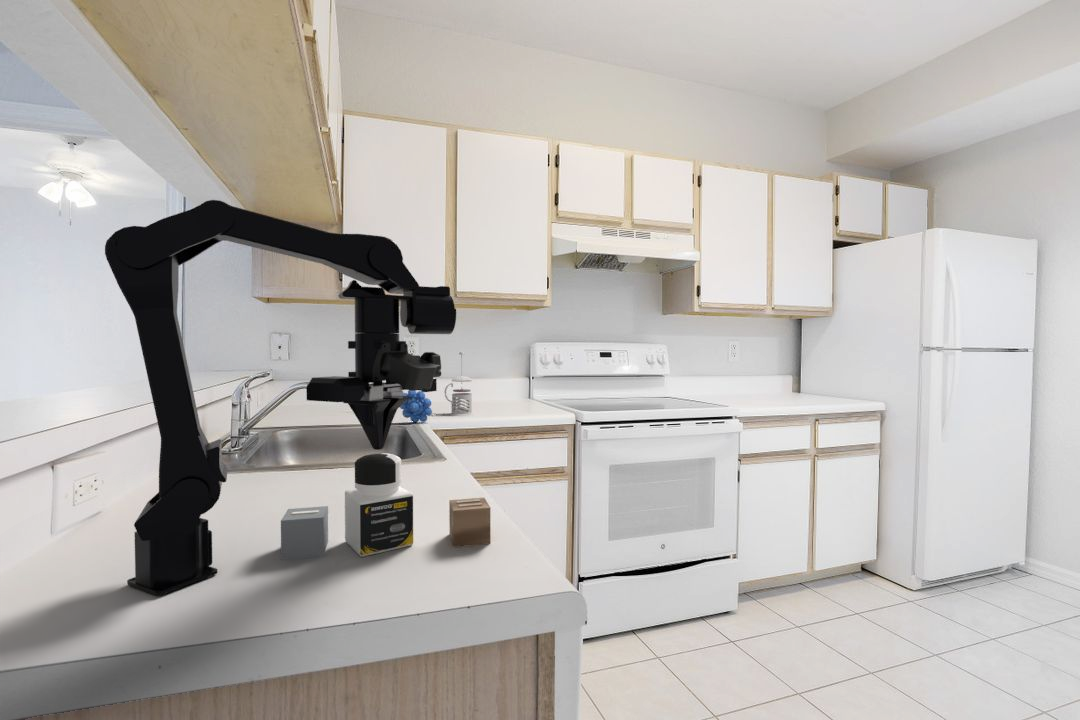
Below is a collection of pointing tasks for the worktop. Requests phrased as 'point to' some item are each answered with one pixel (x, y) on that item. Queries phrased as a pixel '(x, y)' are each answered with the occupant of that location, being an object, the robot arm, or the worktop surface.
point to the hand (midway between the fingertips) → (378, 449)
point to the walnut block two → (469, 522)
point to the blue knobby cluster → (416, 406)
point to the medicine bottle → (378, 507)
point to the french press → (461, 397)
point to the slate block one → (304, 532)
